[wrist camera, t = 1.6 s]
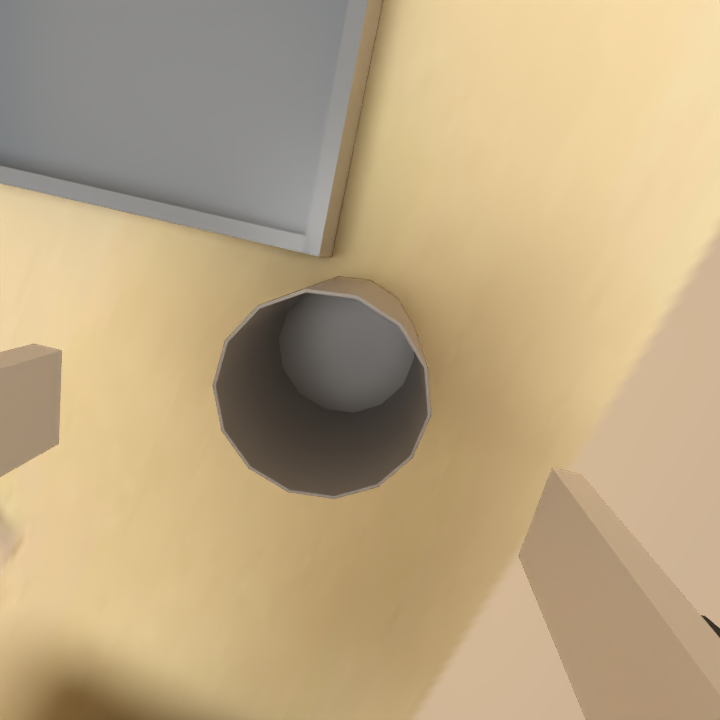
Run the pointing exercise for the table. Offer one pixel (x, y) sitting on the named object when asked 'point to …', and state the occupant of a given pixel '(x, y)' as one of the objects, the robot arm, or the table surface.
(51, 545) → the table surface
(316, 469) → the cup
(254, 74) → the slate bin
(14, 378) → the robot arm
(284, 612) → the table surface
